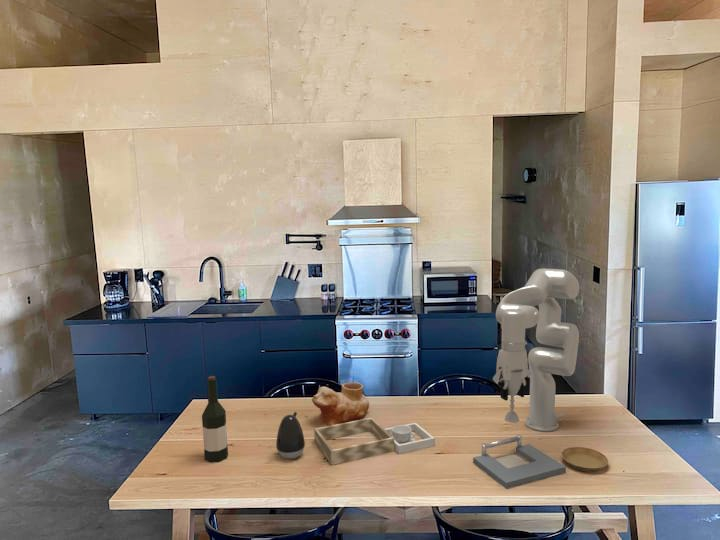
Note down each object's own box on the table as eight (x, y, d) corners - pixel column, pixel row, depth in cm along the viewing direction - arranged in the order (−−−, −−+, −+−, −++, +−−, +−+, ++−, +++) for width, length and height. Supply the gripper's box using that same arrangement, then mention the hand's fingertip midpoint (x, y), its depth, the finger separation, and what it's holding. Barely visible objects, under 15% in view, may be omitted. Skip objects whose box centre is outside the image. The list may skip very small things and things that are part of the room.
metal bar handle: (519, 450, 191) (519, 434, 190) (522, 452, 189) (522, 436, 188) (480, 459, 184) (480, 443, 184) (483, 461, 183) (483, 445, 182)
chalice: (523, 424, 176) (524, 372, 173) (502, 423, 177) (502, 371, 175) (521, 415, 183) (522, 365, 180) (501, 414, 184) (501, 364, 182)
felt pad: (513, 454, 188) (513, 453, 188) (531, 466, 179) (531, 465, 179) (492, 459, 184) (492, 459, 184) (509, 471, 176) (509, 471, 176)
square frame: (415, 429, 209) (415, 422, 209) (434, 445, 195) (434, 438, 195) (381, 437, 204) (380, 429, 203) (398, 454, 190) (398, 446, 189)
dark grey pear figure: (310, 450, 194) (308, 411, 192) (297, 464, 184) (295, 422, 182) (285, 446, 197) (283, 408, 195) (271, 460, 188) (269, 419, 185)
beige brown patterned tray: (372, 429, 210) (371, 417, 210) (394, 451, 192) (394, 438, 191) (314, 441, 201) (314, 428, 201) (331, 465, 183) (331, 451, 182)
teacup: (385, 444, 198) (385, 432, 197) (393, 433, 207) (393, 422, 206) (411, 448, 194) (411, 436, 193) (418, 437, 203) (418, 425, 203)
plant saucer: (613, 476, 172) (614, 469, 172) (566, 473, 174) (566, 466, 174) (600, 454, 186) (601, 447, 186) (557, 452, 189) (557, 445, 188)
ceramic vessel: (305, 420, 221) (304, 385, 219) (358, 405, 235) (357, 373, 233) (321, 431, 209) (320, 395, 207) (376, 415, 224) (375, 381, 221)
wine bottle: (207, 465, 185) (201, 382, 181) (202, 455, 192) (197, 375, 188) (230, 459, 189) (226, 378, 185) (225, 449, 196) (220, 371, 192)
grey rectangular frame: (529, 449, 191) (529, 443, 191) (565, 472, 175) (565, 466, 174) (473, 462, 182) (473, 457, 182) (506, 488, 166) (506, 482, 166)
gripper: (526, 340, 183) (525, 390, 186) (484, 346, 177) (484, 397, 179) (541, 345, 176) (540, 397, 179) (498, 352, 170) (497, 405, 172)
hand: (512, 397), depth 179 cm, fingers closed on chalice, 6 cm apart
